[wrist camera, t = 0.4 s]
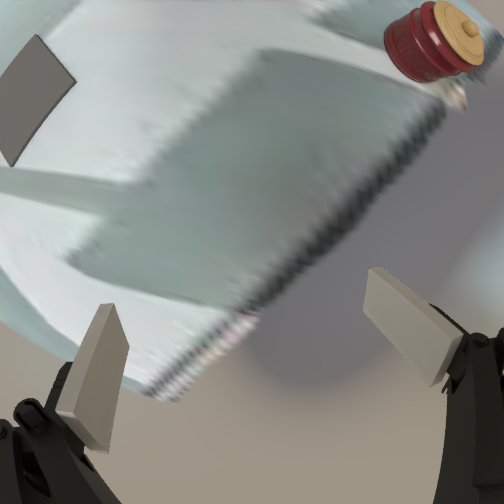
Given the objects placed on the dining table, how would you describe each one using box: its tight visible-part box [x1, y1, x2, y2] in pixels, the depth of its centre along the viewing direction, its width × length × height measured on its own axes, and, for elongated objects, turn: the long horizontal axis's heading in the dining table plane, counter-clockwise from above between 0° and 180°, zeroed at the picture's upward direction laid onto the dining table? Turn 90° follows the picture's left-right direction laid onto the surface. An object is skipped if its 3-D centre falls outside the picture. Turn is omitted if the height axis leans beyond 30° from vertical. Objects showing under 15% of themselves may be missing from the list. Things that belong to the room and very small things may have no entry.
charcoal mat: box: [0, 34, 76, 167], centre depth 27 cm, size 18×18×1 cm
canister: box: [384, 1, 484, 83], centre depth 25 cm, size 13×13×18 cm
